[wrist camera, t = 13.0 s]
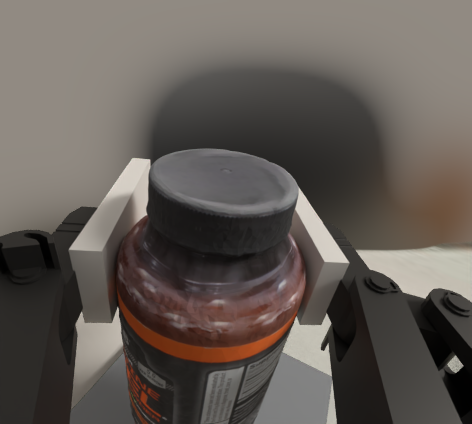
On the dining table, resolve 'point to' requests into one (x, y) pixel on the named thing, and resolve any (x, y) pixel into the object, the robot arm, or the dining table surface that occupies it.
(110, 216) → the robot arm
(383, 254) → the dining table surface
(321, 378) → the mat
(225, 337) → the supplement bottle
